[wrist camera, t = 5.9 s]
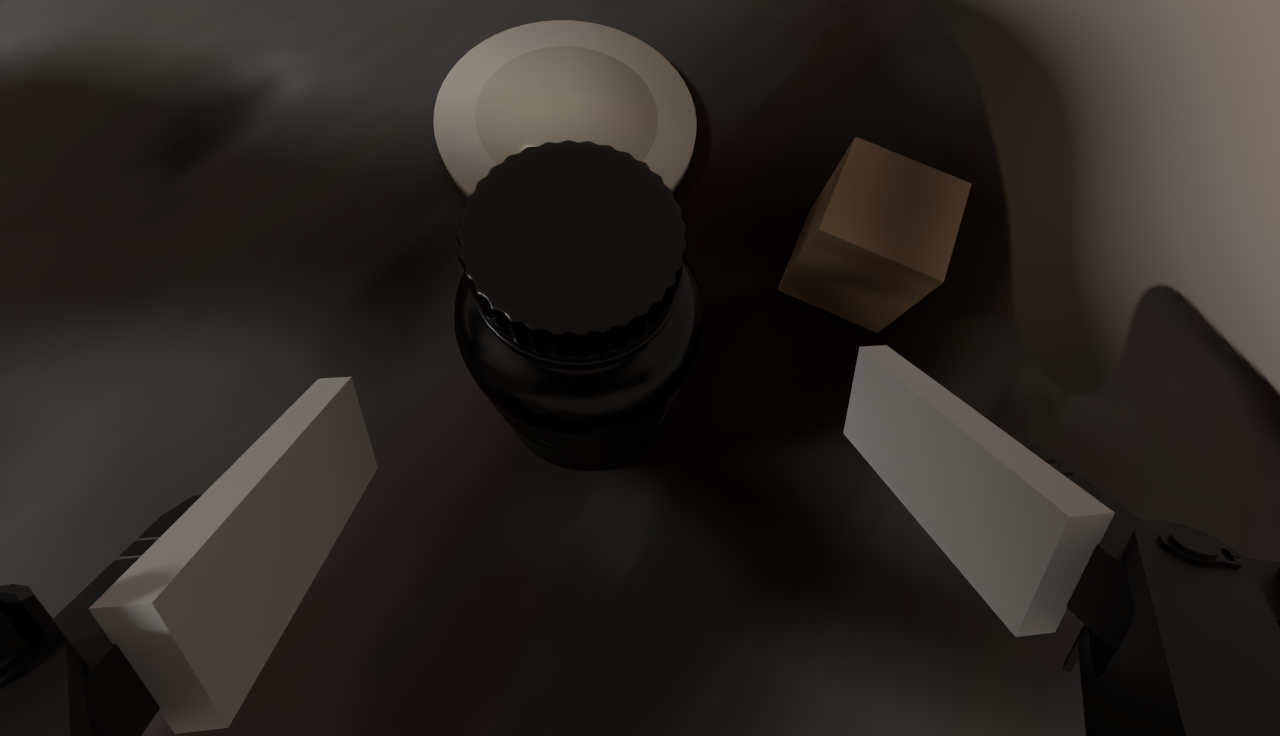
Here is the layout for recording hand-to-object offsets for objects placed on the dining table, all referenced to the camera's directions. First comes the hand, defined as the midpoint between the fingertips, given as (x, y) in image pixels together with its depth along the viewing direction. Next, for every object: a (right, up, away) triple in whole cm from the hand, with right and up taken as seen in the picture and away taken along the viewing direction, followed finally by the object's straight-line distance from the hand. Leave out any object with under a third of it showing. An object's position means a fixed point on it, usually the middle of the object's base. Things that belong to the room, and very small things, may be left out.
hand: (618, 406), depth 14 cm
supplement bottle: (-2, 0, +9) cm, 9 cm away
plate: (-3, +13, +13) cm, 19 cm away
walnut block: (+10, +6, +11) cm, 16 cm away
